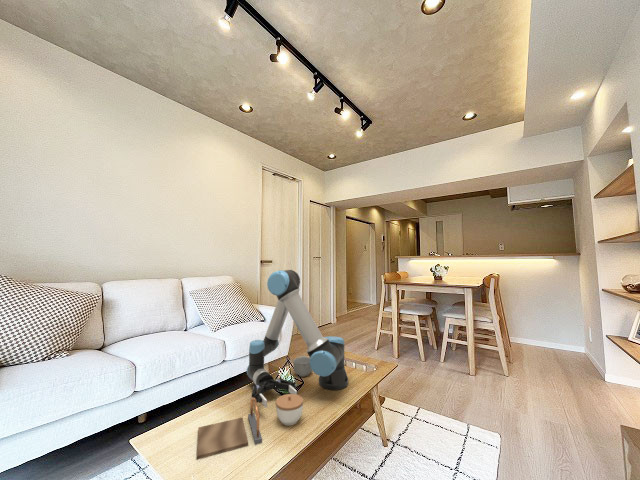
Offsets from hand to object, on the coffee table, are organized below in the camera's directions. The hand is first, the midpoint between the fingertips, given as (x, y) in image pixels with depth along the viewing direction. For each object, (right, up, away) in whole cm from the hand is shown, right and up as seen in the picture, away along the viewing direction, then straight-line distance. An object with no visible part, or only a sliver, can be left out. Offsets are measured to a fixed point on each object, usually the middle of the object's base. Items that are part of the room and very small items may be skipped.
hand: (281, 399), depth 110 cm
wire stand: (-9, -5, -10) cm, 14 cm away
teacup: (+7, -9, +39) cm, 41 cm away
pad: (-19, -5, -15) cm, 25 cm away
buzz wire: (-9, -4, -10) cm, 14 cm away
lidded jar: (+4, -6, -5) cm, 9 cm away
